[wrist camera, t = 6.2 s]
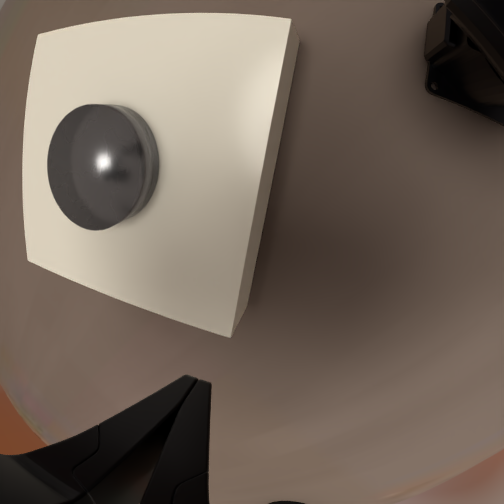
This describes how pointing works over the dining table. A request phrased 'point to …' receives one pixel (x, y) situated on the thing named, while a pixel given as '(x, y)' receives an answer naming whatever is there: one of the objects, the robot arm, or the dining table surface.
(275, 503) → the wine bottle
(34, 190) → the block
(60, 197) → the plunger
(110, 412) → the dining table surface
